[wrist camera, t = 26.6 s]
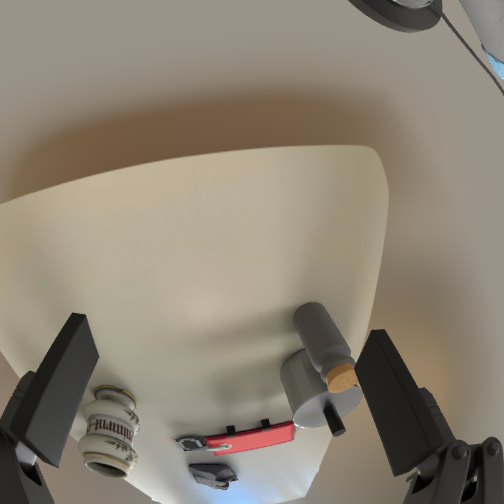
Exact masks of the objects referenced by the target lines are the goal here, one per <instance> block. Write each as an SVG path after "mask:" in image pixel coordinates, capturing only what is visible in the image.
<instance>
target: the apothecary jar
mask: <svg viewBox="0 0 504 504" xmlns="http://www.w3.org/2000/svg"><path fill="white" fill-rule="evenodd" d="M94 395H95V398H96V400H95V401H92V402H90V403H89V404H87V406H86V407H85V409H84V416H85V419H86V421H87V422H88V426H87V432H86V436H85V437H82V438H81V439H80V440H79V442H78V449H79V451H80V453H81V454H82V455H83V457H84V464H85V466H86V467H87V468H88V469H89V470H91V471H93V472H95V473H97V474H100V475H103V476H107V477H112V478H124V477H127V476H128V474H129V471H130V469H131V468H133V467H135V466H136V464H137V462H138V456H137V454H136V452H135V451H134V450H133V449H132V448H133V438H134V435H136V434H137V433H138V432H139V430H140V427H141V423H140V420H139V418H138V416H137V415H136V414H135V413H134V412H133V411H134V410H135V409H136V408H137V406H138V403H137V400H136V399H135V397H134V396H133V395H132V394H130V393H129V392H127V391H125V390H123V389H117V388H115V387H114V386H100V387H98V388H96V389H95V392H94Z"/></svg>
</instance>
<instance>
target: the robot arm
mask: <svg viewBox="0 0 504 504" xmlns="http://www.w3.org/2000/svg"><path fill="white" fill-rule="evenodd" d="M387 1H389V2H391V3H393V4H395V5H397V6H399V7H402V8H405V9H410V10H416V9H420V8H423V7H426V6H428V5H429V4H430V3H432V5H433V6H434V7H435V8H436V10H437V11H438V12H439V13H440V15H441V16H442V17H443V19H444V20H445V22H446V23H447V24H448V26H449V27H450V28H451V29H452V31H453V32H454V33H455V34H456V36H457V37H458V38H459V39H460V40H461V42H462V43H463V44H464V45H465V47H466V48H467V49H468V50H469V51H470V53H471V54H472V55H473V56H474V57H475V59H476V60H477V61H478V62H479V63H480V65H481V66H482V67H483V68H484V69H485V70H486V72H488V74H489V75H490V76H491V78H492V79H493V80H494V82H495V83H496V84H497V86H498V87H499V88H500V90H501V92H502V93H503V95H504V90H503V89H502V87H501V86H500V85H499V83H498V82H497V80H496V79H495V77H494V76H493V75H492V74H491V72H490V71H489V70H488V69H487V68H486V66H485V65H484V64H483V63H482V62H481V61H480V59H479V58H478V57H477V56H476V55H475V53H474V52H473V51H472V49H471V48H470V47H469V46H468V44H467V43H466V42H465V41H464V40H463V38H462V37H461V36H460V35H459V33H458V32H457V31H456V30H455V28H454V27H453V26H452V24H451V23H450V22H449V20H448V19H447V18H446V16H445V15H444V13H443V12H442V11H441V9H440V8H439V7H438V6H437V4H436V3H435V2H434V1H433V0H387ZM459 1H460V3H461V5H462V7H463V8H464V10H465V12H466V14H467V16H468V17H469V19H470V21H471V23H472V25H473V27H474V29H475V31H476V33H477V35H478V37H479V39H480V42H481V46H482V49H483V51H484V52H485V53H486V55H487V57H488V59H489V61H490V64H491V65H492V68H493V70H494V71H495V72H496V73H497V74H498V75H499V76H500V77H501V78H502V79H503V80H504V0H459ZM98 358H99V355H98V352H97V349H96V346H95V343H94V340H93V337H92V334H91V330H90V327H89V324H88V320H87V317H86V315H85V314H79V313H73V312H72V314H71V315H70V317H69V318H68V320H67V321H66V323H65V325H64V326H63V328H62V329H61V331H60V332H59V334H58V336H57V337H56V339H55V341H54V342H53V344H52V345H51V347H50V349H49V351H48V352H47V354H46V356H45V357H44V359H43V361H42V363H41V364H40V366H39V368H38V370H37V372H36V373H35V372H32V371H28V372H27V373H26V374H25V375H24V376H23V377H22V378H21V379H20V381H19V383H18V385H17V387H16V389H15V391H14V393H13V396H11V398H10V400H9V402H8V405H7V406H6V408H5V410H4V413H3V415H2V417H1V419H0V504H55V502H54V500H53V498H52V496H51V494H50V492H49V489H48V487H47V485H46V483H45V480H44V478H43V476H42V473H41V471H40V468H39V466H38V464H37V462H36V457H37V456H38V457H39V458H40V459H41V460H42V461H44V462H45V463H48V464H50V465H52V466H55V467H57V468H59V464H60V461H61V458H62V454H63V451H64V448H65V444H66V442H67V438H68V436H69V433H70V430H71V427H72V424H73V421H74V418H75V416H76V413H77V410H78V407H79V405H80V402H81V400H82V397H83V394H84V392H85V389H86V387H87V384H88V382H89V379H90V377H91V375H92V372H93V370H94V367H95V365H96V363H97V361H98ZM354 371H355V374H356V376H357V379H358V381H359V384H360V386H361V388H362V391H363V394H364V396H365V399H366V401H367V404H368V406H369V409H370V412H371V414H372V417H373V419H374V422H375V425H376V427H377V430H378V433H379V436H380V438H381V441H382V444H383V447H384V449H385V452H386V455H387V458H388V461H389V464H390V466H391V469H392V472H393V475H394V477H396V476H399V475H402V474H404V473H407V472H409V471H411V470H412V469H413V468H414V467H417V471H416V472H415V473H413V474H412V475H411V476H409V477H408V478H407V480H406V482H408V481H409V480H411V479H412V478H413V480H412V481H411V482H410V483H411V485H410V487H409V490H408V492H407V494H406V497H405V499H404V501H403V504H504V459H503V449H502V445H501V443H500V441H499V440H498V439H497V438H495V437H489V438H487V439H486V440H485V441H484V442H483V443H482V444H475V445H474V444H473V445H468V444H467V443H466V442H464V441H462V440H456V439H455V437H454V436H453V434H452V432H451V429H450V427H449V426H448V423H447V422H446V420H445V418H444V416H443V414H442V412H441V410H440V408H439V406H438V405H437V402H436V401H435V399H434V397H433V395H432V394H431V393H430V392H429V391H428V390H427V389H426V388H425V387H424V388H418V386H417V385H416V383H415V381H414V379H413V377H412V376H411V374H410V372H409V370H408V368H407V367H406V365H405V363H404V361H403V360H402V358H401V356H400V354H399V353H398V351H397V349H396V347H395V346H394V344H393V342H392V341H391V339H390V337H389V336H388V334H387V332H386V331H385V329H380V330H371V332H370V335H369V337H368V339H367V341H366V343H365V346H364V348H363V350H362V352H361V354H360V356H359V358H358V361H357V363H356V365H355V367H354ZM476 475H477V481H474V477H475V476H476Z"/></svg>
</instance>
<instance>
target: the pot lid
mask: <svg viewBox="0 0 504 504" xmlns="http://www.w3.org/2000/svg"><path fill="white" fill-rule="evenodd" d="M361 399H362V390H361V389H360V388H359V387H358V386H356V385H353V386H352V387H350V388H349V389H347V390H345V391H342V392H336V393H334V392H330V391H329V390H328V388H327V389H325V390H322V391H320V392H318V393H316V394H314V395H312V396H311V397H309V398H307V399H306V400H305V401H303V402H302V403H301V404H300V405H299V406H298V407H297V408H296V409H295V411H294V413H293V417H292V418H293V422H294V423H295V424H296V425H297V426H299V427H302V428H316V427H321V426H325V425H328V426H329V428H330V431H331V433H332V435H333V436H339V435H341V434H343V433H344V432H345V431H346V429H345V427H344V425H343V422H342V420H341V418H343V417H344V416H346V415H347V414H349V413H350V412H351V411H352V410H354V409H355V408H356V407H357V405H358V404H359V403H360V401H361Z"/></svg>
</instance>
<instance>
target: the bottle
mask: <svg viewBox="0 0 504 504" xmlns="http://www.w3.org/2000/svg"><path fill="white" fill-rule="evenodd" d="M294 325H295V327H296V329H297V331H298V334H299V336H300V338H301V340H302V342H303V345H304V347H305V349H306V351H307V353H308V356H309V358H310V360H311V362H312V364H313V366H314V368H315V369H316V371H318V372H321V374H320V375H321V378H322V380H323V381H324V382H325V383H327V386H328V390H329V391H330V392H334V393H336V392H342V391H345V390H347V389H349V388H350V387H352V386H353V385H354V384H355V383H356V382H357V381H358V379H357V376H356V374H355V371H354V367H355V365H356V363H355V361H354V359H353V358H352V357H350V354H351V351H350V348H349V346H348V344H347V343H346V341H345V339H344V338H343V336H342V335H341V333H340V331H339V330H338V328H337V326H336V325H335V323H334V322H333V320H332V318H331V317H330V315H329V314H328V312H327V311H326V309H325V308H324V307H323V305H321V304H319V303H308V304H306V305H304V306H302V307H301V308H299V309H298V311H297V312H296V313H295V315H294Z"/></svg>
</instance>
